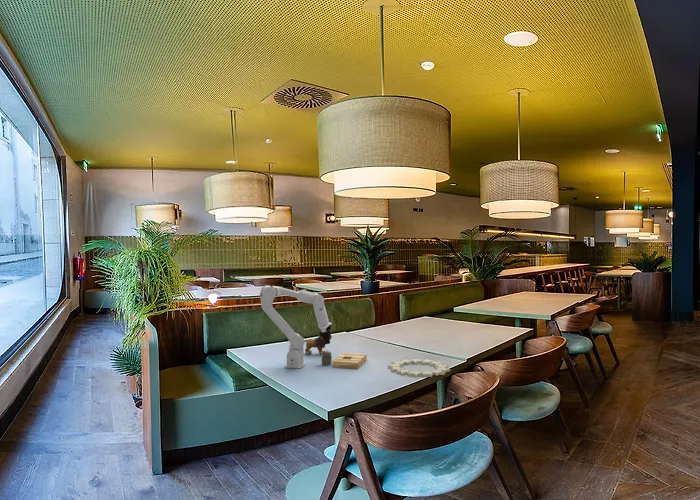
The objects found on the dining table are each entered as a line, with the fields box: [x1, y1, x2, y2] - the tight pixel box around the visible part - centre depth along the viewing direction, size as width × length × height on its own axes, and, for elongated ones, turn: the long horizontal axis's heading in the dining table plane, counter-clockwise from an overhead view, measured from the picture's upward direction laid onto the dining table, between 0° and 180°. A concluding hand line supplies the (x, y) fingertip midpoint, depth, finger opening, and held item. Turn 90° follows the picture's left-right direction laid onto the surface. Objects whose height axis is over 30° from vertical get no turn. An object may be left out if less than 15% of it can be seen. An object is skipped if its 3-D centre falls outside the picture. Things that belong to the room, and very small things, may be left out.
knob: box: [321, 349, 333, 366], centre depth 226 cm, size 5×5×7 cm
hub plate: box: [332, 352, 368, 370], centre depth 228 cm, size 18×13×3 cm
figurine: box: [304, 329, 334, 356], centre depth 249 cm, size 7×22×15 cm, turn 78°
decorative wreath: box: [387, 358, 451, 378], centre depth 217 cm, size 30×2×30 cm
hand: (328, 341), depth 229 cm, fingers open, 7 cm apart
